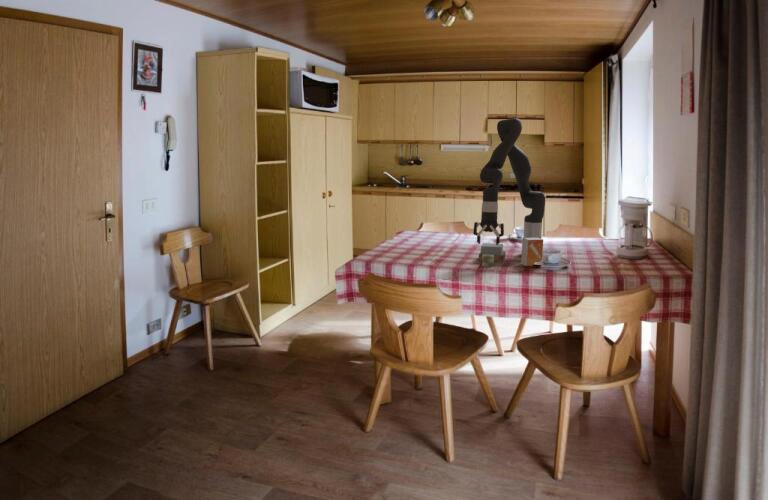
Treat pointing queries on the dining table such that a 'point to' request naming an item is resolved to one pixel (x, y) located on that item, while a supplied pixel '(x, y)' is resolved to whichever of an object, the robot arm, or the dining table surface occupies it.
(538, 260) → the small box
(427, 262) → the dining table surface
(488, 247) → the slate top block
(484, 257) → the sage cube
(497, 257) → the walnut base block
